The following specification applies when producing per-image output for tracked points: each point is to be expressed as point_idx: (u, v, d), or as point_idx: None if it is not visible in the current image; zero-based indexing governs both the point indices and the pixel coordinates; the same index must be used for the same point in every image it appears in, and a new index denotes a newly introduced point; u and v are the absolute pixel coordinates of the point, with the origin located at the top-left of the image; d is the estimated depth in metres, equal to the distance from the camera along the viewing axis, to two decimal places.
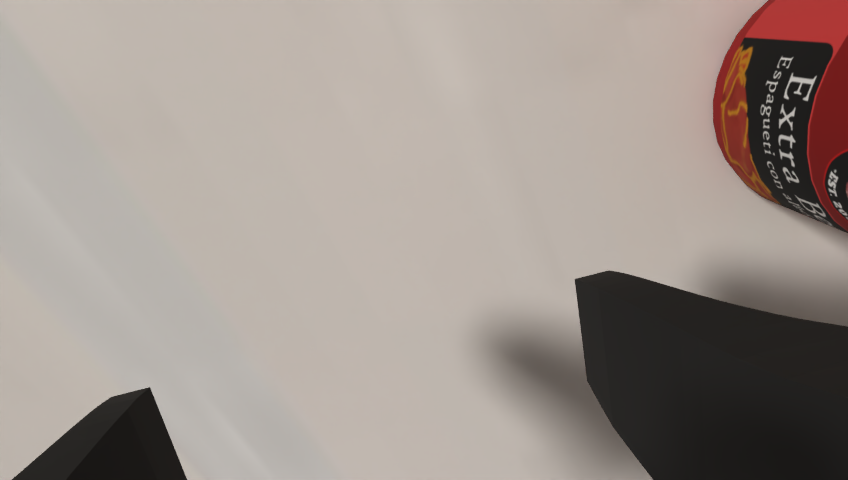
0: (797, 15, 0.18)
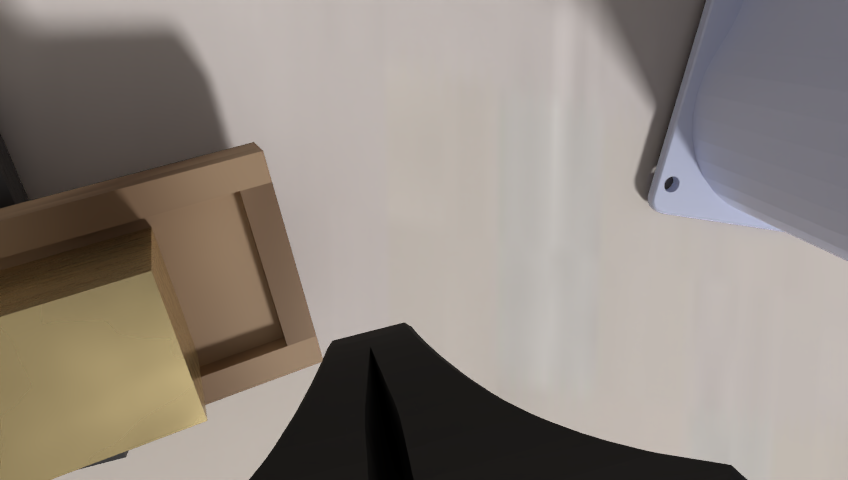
0: None
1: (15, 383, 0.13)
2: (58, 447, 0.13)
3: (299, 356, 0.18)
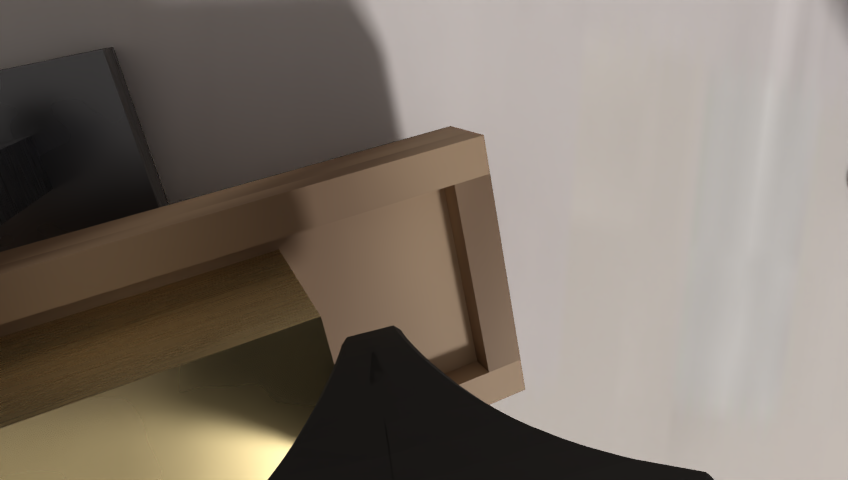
0: None
1: (141, 472, 0.09)
2: None
3: (500, 384, 0.15)
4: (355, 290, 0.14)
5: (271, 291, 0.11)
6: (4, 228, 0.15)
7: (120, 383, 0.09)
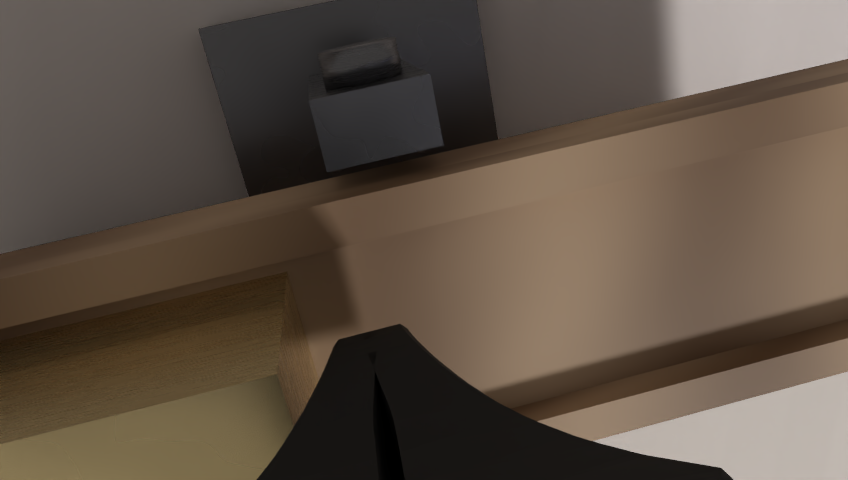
0: None
1: None
2: None
3: None
4: (762, 223, 0.13)
5: (250, 328, 0.10)
6: None
7: (55, 426, 0.08)
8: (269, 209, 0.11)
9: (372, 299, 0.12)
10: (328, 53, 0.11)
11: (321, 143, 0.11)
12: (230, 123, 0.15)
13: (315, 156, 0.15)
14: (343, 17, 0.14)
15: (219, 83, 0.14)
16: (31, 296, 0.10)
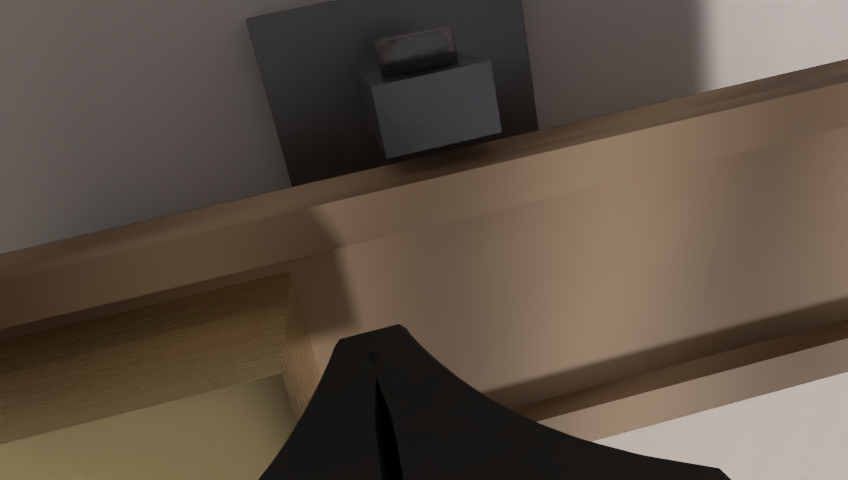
0: None
1: None
2: None
3: None
4: (810, 211, 0.13)
5: (254, 327, 0.10)
6: None
7: (60, 425, 0.08)
8: (330, 195, 0.11)
9: (426, 286, 0.12)
10: (387, 40, 0.11)
11: (382, 129, 0.11)
12: (275, 113, 0.15)
13: (358, 146, 0.15)
14: (389, 7, 0.14)
15: (265, 73, 0.14)
16: (96, 281, 0.10)
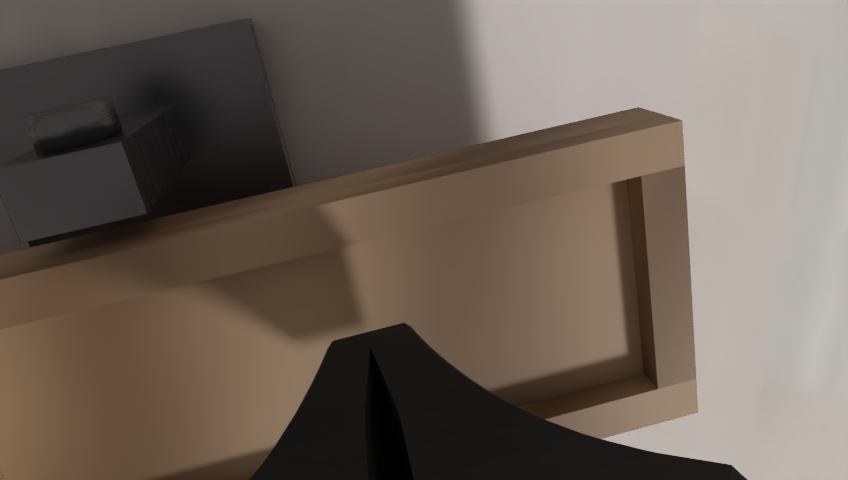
0: None
1: None
2: None
3: (670, 403, 0.13)
4: (517, 284, 0.12)
5: None
6: None
7: None
8: None
9: (97, 367, 0.12)
10: (26, 118, 0.11)
11: (9, 214, 0.10)
12: None
13: None
14: (112, 66, 0.14)
15: None
16: None
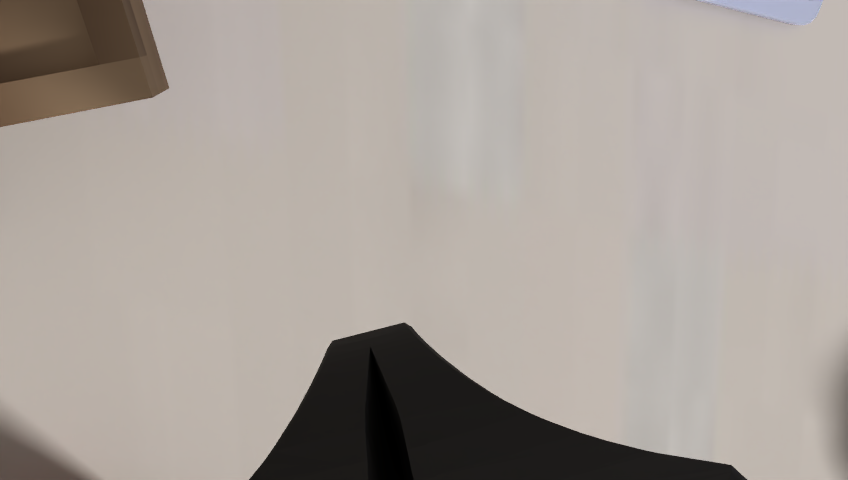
0: None
1: None
2: None
3: (117, 83, 0.13)
4: None
5: None
6: None
7: None
8: None
9: None
10: None
11: None
12: None
13: None
14: None
15: None
16: None
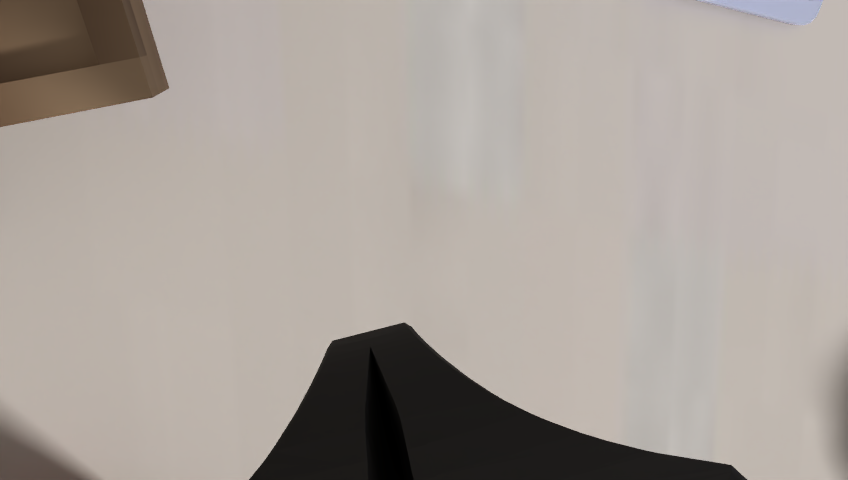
0: None
1: None
2: None
3: (117, 83, 0.13)
4: None
5: None
6: None
7: None
8: None
9: None
10: None
11: None
12: None
13: None
14: None
15: None
16: None
